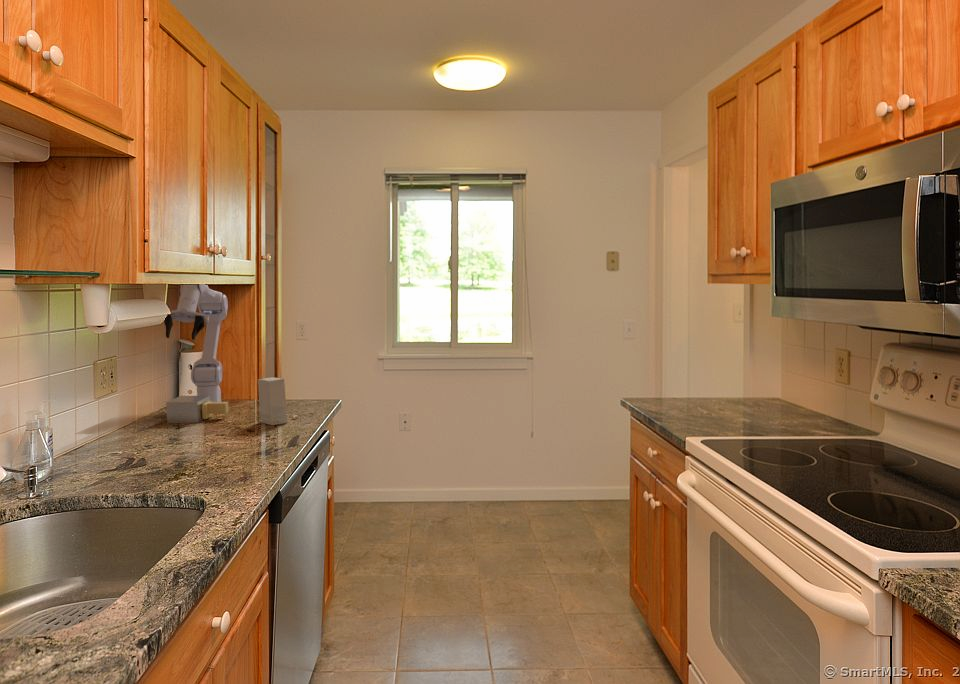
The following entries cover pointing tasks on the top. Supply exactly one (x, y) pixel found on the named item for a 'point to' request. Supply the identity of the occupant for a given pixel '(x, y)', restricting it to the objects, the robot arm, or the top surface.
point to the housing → (186, 409)
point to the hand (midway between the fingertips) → (180, 337)
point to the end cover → (214, 408)
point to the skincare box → (272, 401)
